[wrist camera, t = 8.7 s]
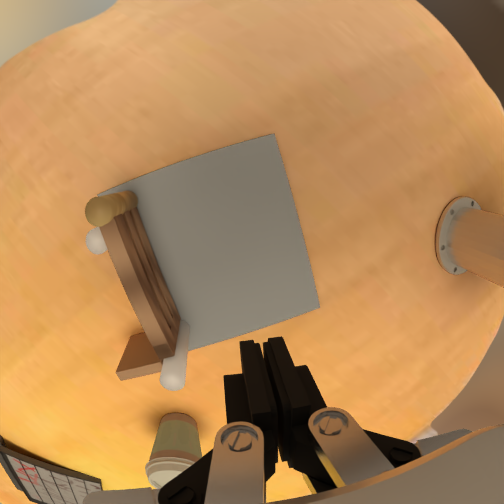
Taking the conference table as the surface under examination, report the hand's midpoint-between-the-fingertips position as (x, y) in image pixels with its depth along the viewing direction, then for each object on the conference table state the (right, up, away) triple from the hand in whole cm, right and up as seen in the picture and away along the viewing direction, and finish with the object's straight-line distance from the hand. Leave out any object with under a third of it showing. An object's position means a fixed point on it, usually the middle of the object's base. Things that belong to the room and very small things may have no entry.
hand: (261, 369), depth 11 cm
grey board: (-6, +4, +22) cm, 24 cm away
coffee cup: (-12, -23, +29) cm, 39 cm away
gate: (-12, +4, +20) cm, 24 cm away
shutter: (-54, -57, +32) cm, 84 cm away
